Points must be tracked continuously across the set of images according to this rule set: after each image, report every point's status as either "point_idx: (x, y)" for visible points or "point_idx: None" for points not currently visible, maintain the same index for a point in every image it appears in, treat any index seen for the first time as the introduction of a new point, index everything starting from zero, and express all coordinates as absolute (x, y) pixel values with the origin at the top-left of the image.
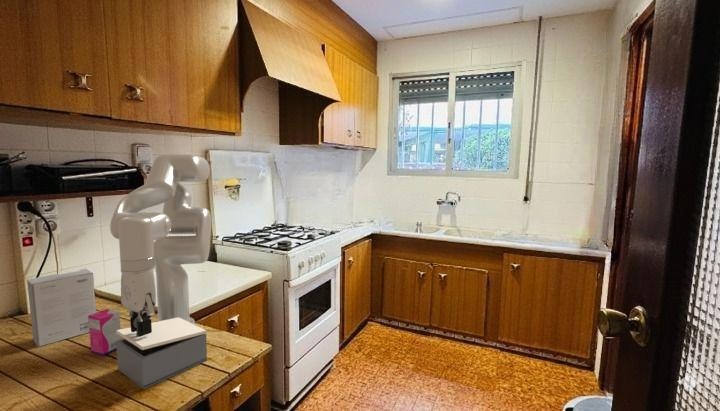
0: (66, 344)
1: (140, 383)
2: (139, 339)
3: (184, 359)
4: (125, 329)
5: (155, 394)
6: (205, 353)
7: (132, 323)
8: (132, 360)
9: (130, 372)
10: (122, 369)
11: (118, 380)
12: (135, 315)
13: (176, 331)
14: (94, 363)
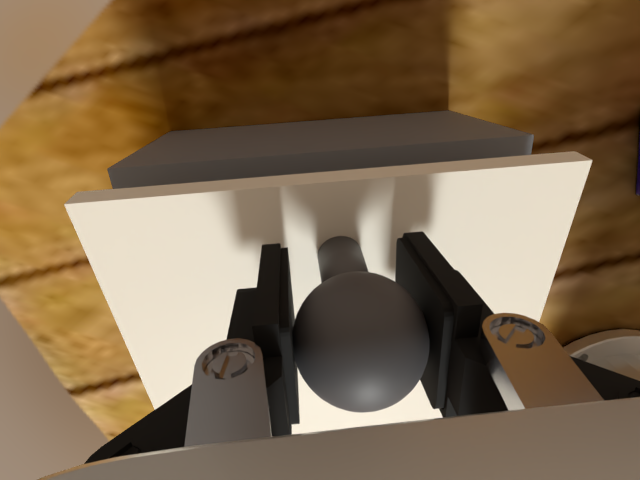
0: None
1: (197, 132)
2: (256, 233)
3: None
4: (548, 218)
5: (91, 152)
6: None
7: (424, 278)
8: (272, 143)
9: (306, 126)
10: (399, 117)
11: (342, 77)
12: (459, 361)
13: None
14: (608, 47)
